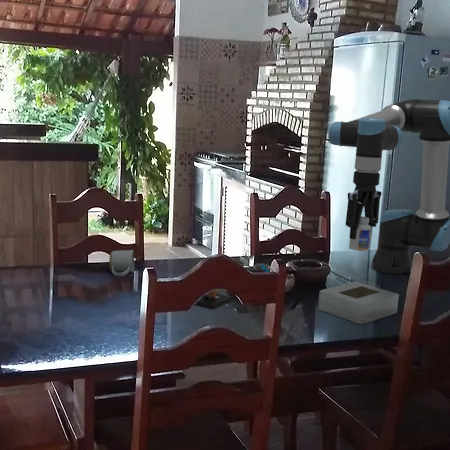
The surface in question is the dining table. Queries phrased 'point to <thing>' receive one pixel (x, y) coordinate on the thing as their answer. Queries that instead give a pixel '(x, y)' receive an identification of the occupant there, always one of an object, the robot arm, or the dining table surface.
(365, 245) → the pill bottle
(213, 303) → the figurine
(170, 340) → the dining table surface
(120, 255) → the ceramic mug
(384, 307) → the white flat square box
